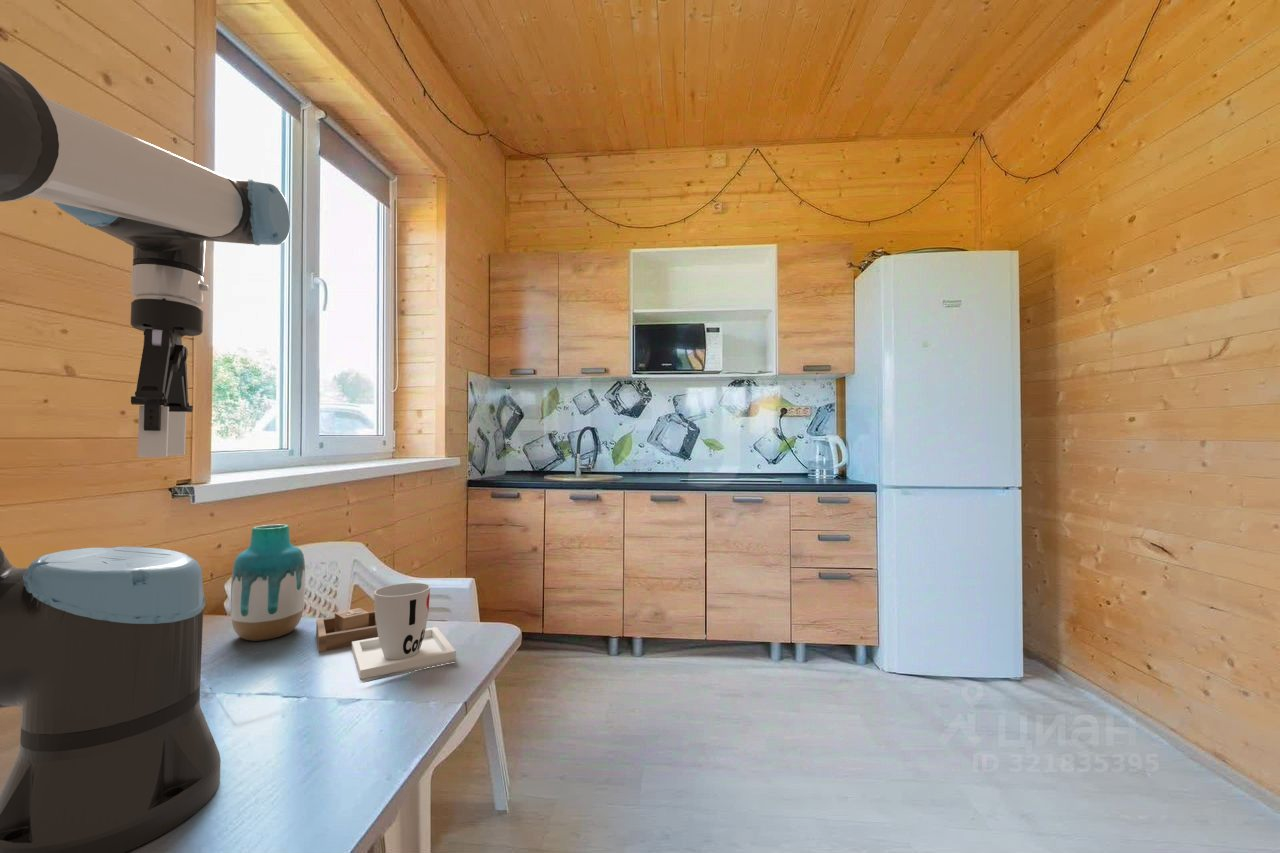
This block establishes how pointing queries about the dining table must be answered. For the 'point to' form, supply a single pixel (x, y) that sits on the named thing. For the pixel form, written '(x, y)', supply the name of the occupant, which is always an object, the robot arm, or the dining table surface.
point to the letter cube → (351, 619)
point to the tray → (375, 663)
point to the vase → (268, 585)
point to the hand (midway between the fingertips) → (163, 456)
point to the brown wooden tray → (342, 634)
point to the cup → (401, 618)
